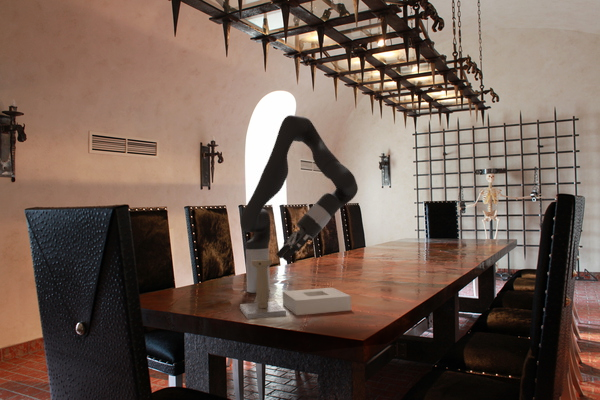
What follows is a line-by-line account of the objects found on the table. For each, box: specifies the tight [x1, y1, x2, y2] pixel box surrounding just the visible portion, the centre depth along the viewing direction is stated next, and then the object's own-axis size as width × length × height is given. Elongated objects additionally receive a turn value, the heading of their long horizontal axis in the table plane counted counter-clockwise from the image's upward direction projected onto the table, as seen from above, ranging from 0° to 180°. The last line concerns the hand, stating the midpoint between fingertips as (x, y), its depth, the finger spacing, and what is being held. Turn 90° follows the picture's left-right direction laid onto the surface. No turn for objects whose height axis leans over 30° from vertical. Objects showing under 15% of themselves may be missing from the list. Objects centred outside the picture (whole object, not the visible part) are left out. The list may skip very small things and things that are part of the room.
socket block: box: [282, 287, 352, 316], centre depth 159 cm, size 18×18×4 cm
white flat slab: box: [239, 300, 287, 320], centre depth 154 cm, size 16×12×2 cm
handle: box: [252, 259, 273, 308], centre depth 154 cm, size 5×6×15 cm
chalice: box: [249, 249, 270, 303], centre depth 172 cm, size 7×7×18 cm
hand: (281, 257), depth 155 cm, fingers open, 8 cm apart
